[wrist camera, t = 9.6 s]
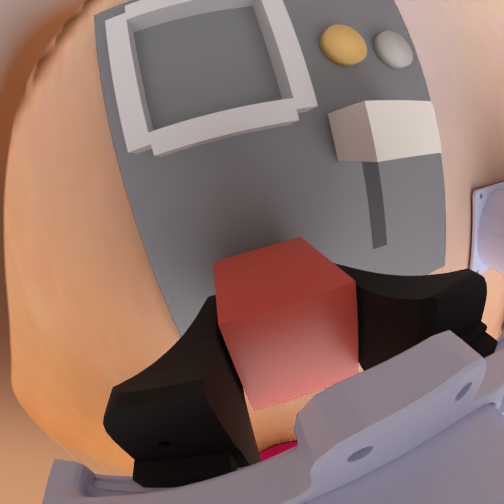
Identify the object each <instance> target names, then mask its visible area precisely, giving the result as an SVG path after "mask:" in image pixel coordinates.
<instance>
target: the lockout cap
mask: <svg viewBox="0 0 504 504" xmlns="http://www.w3.org/2000/svg"><path fill="white" fill-rule="evenodd" d="M213 265H214V279H215V292H216V304H217V315H218V325H219V327H220V330H221V333H222V335H223V338H224V341H225V343H226V346H227V348H228V351H229V353H230V356H231V358H232V361H233V363H234V366H235V368H236V371H237V373H238V376H239V378H240V380H241V383H242V385H243V387H244V390H245V392H246V395H247V397H248V399H249V401H250V404H251V406H252V408H253V411H254V410H258V409H262V408H265V407H269V406H272V405H276V404H279V403H283V402H286V401H289V400H292V399H295V398H298V397H301V396H304V395H307V394H310V393H313V392H316V391H318V390H321V389H324V388H326V387H329V386H332V385H334V384H336V383H338V382H340V381H342V380H345V379H347V378H349V377H352V376H354V375H356V374H358V315H357V297H356V282H355V280H353V279H352V278H351V277H350V276H349V275H347V274H346V273H345V272H344V271H343V270H341V269H340V268H339V267H338V266H336V265H335V264H334V263H333V262H332V261H330V260H329V259H328V258H327V257H325V256H324V255H323V254H322V253H320V252H319V251H318V250H317V249H315V248H314V247H313V246H312V245H310V244H309V243H308V242H307V241H305V240H304V239H303V238H302V237H298V238H294V239H291V240H287V241H284V242H280V243H277V244H273V245H270V246H266V247H263V248H259V249H256V250H252V251H249V252H245V253H242V254H238V255H235V256H231V257H228V258H224V259H221V260H217V261H214V262H213Z"/></svg>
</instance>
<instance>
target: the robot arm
mask: <svg viewBox="0 0 504 504" xmlns="http://www.w3.org/2000/svg"><path fill="white" fill-rule="evenodd" d="M472 202H473V225H472V247H471V260H470V269H464V270H459V271H455V272H450V273H444V274H435V275H423V276H402V275H389V274H381V273H375V272H369V271H365V270H360V269H356V268H352V267H348V266H344V265H340V264H335V263H334V264H335V265H336V266H338V267H339V268H340V269H341V270H343V271H344V272H345V273H346V274H347V275H349V276H350V277H351V278H352V279H353V280H355V282H356V297H357V315H358V362H359V363H360V365H361V367H362V368H363V370H364V371H363V372H361V373H359V374H356V375H354V376H352V377H349V378H347V379H345V380H342V381H340V382H338V383H336V384H334V385H332V386H331V387H329V388H327V389H325V390H324V391H322V392H320V393H318V394H316V395H315V396H314V397H313V398H312V399H311V400H310V401H309V402H308V403H307V404H306V406H305V407H304V408H303V409H302V410H301V411H300V412H299V413H298V414H297V418H296V422H295V426H294V431H295V435H296V439H297V446H295V447H293V448H291V449H289V450H286V451H284V452H282V453H280V454H277V455H275V456H273V457H270V458H268V459H266V460H263V461H261V458H260V455H259V451H258V448H257V444H256V441H255V437H254V433H253V430H252V426H251V422H250V418H249V414H248V410H247V406H246V401H245V397H244V391H243V385H242V383H241V380H240V378H239V376H238V373H237V371H236V368H235V366H234V363H233V361H232V358H231V356H230V353H229V351H228V348H227V346H226V343H225V341H224V338H223V335H222V333H221V330H220V327H219V325H218V315H217V304H216V295H212V296H209V297H208V298H207V299H206V301H205V303H204V304H203V306H202V308H201V309H200V311H199V313H198V314H197V316H196V318H195V319H194V321H193V322H192V324H191V325H190V326H189V328H188V329H187V331H186V332H185V333H184V334H183V336H182V337H181V338H180V339H179V340H178V341H177V342H176V344H175V345H174V346H173V347H172V348H171V349H170V350H168V351H167V352H166V353H165V354H164V355H163V356H162V357H161V358H159V359H158V360H157V361H156V362H155V363H153V364H152V365H150V366H149V367H148V368H146V369H145V370H143V371H142V372H140V373H139V374H137V375H135V376H134V377H132V378H130V379H128V380H126V381H125V382H123V383H121V384H119V385H117V386H115V387H113V389H112V392H111V395H110V398H109V401H108V405H107V408H106V411H105V415H104V420H103V425H104V427H105V430H106V432H107V433H108V434H109V435H110V437H111V438H112V439H113V440H114V441H115V442H116V443H117V444H118V445H119V446H120V447H121V448H122V449H123V450H124V451H126V452H127V453H128V454H129V455H130V456H131V457H132V458H133V459H135V461H134V470H133V477H130V476H111V475H100V474H94V473H93V472H92V471H91V470H90V469H89V468H88V467H86V466H85V465H83V464H81V463H79V462H75V461H68V460H62V459H54V461H53V464H52V468H51V471H50V475H49V478H48V482H47V486H46V490H45V494H44V498H43V503H42V504H504V333H503V334H502V335H501V336H500V337H499V338H498V339H497V340H495V339H494V338H493V337H491V336H490V335H489V334H487V333H486V332H485V331H486V329H487V326H486V325H485V324H484V323H483V322H481V319H482V315H483V311H484V307H485V302H486V296H487V285H486V281H485V279H484V277H483V276H482V275H481V274H482V273H484V272H485V271H487V270H488V269H490V268H492V269H493V270H495V271H497V272H499V273H501V274H503V275H504V182H500V183H497V184H494V185H490V186H487V187H484V188H480V189H477V190H475V191H474V192H473V195H472Z"/></svg>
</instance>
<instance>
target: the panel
mask: <svg viewBox="0 0 504 504" xmlns="http://www.w3.org/2000/svg"><path fill="white" fill-rule="evenodd" d="M94 21H95V35H96V46H97V55H98V63H99V71H100V78H101V84H102V90H103V96H104V102H105V107H106V112H107V117H108V122H109V127H110V131H111V136H112V140H113V145H114V149H115V153H116V157H117V161H118V165H119V168H120V172H121V176H122V179H123V183H124V186H125V190H126V193H127V197H128V200H129V203H130V206H131V210H132V213H133V216H134V219H135V222H136V225H137V228H138V231H139V234H140V237H141V240H142V243H143V245H144V248H145V251H146V254H147V256H148V259H149V262H150V264H151V267H152V270H153V272H154V275H155V277H156V280H157V282H158V285H159V287H160V290H161V292H162V295H163V297H164V299H165V302H166V304H167V306H168V309H169V311H170V313H171V316H172V318H173V320H174V322H175V325H176V327H177V329H178V331H179V333H180V335H181V337H182V336H183V334H184V333H185V332H186V331H187V329H188V328H189V326H190V325H191V324H192V322H193V321H194V319H195V318H196V316H197V314H198V313H199V311H200V309H201V308H202V306H203V304H204V303H205V301H206V299H207V298H208V297H209V296H212V295H216V292H215V279H214V265H213V262H214V261H217V260H221V259H224V258H228V257H231V256H235V255H238V254H242V253H245V252H249V251H252V250H256V249H259V248H263V247H266V246H270V245H273V244H277V243H280V242H284V241H287V240H291V239H294V238H298V237H302V238H303V239H304V240H305V241H307V242H308V243H309V244H310V245H312V246H313V247H314V248H315V249H317V250H318V251H319V252H320V253H322V254H323V255H324V256H325V257H327V258H328V259H329V260H330V261H332V262H333V263H335V264H340V265H344V266H348V267H352V268H356V269H360V270H365V271H369V272H375V273H381V274H389V275H402V276H423V275H426V274H429V273H431V272H433V271H435V270H437V269H439V268H441V267H443V266H445V250H446V209H445V190H444V178H443V168H442V160H441V153H434V154H427V155H420V156H413V157H406V158H399V159H393V160H387V161H381V162H360V161H338V158H337V154H336V149H335V144H334V140H333V135H332V131H331V127H330V123H329V119H328V115H327V114H328V113H331V112H334V111H336V110H339V109H342V108H345V107H348V106H350V105H353V104H356V103H359V102H362V101H372V100H416V101H431V100H430V96H429V93H428V89H427V85H426V82H425V78H424V75H423V72H422V68H421V65H420V62H419V59H418V56H417V54H416V51H415V48H414V45H413V43H412V40H411V38H410V35H409V33H408V30H407V28H406V26H405V23H404V21H403V19H402V17H401V14H400V12H399V10H398V8H397V6H396V4H395V2H394V0H132V1H129V2H126V3H123V4H121V5H118V6H116V7H113V8H111V9H108V10H106V11H103V12H101V13H99V14H97V15H94Z"/></svg>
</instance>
